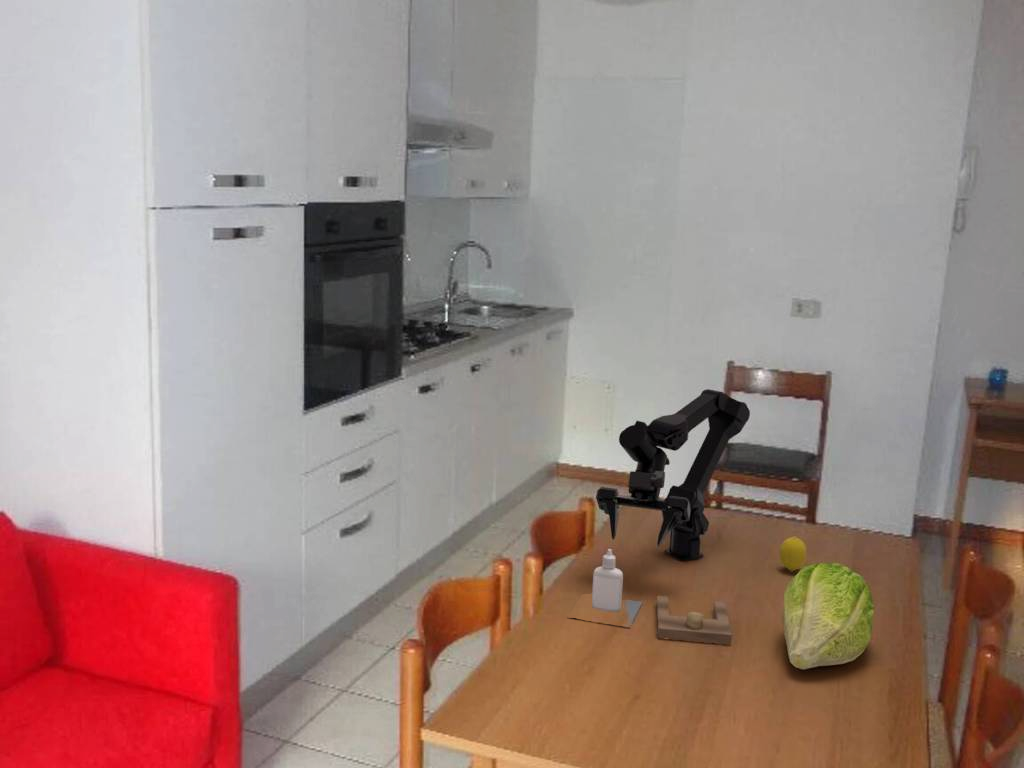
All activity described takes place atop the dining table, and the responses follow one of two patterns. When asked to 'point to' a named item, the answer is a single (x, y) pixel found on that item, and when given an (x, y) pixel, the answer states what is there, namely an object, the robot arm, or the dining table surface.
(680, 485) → the robot arm
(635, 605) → the slate mat
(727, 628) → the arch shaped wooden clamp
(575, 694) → the dining table surface
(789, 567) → the lemon
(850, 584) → the lettuce
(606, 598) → the eye dropper bottle
